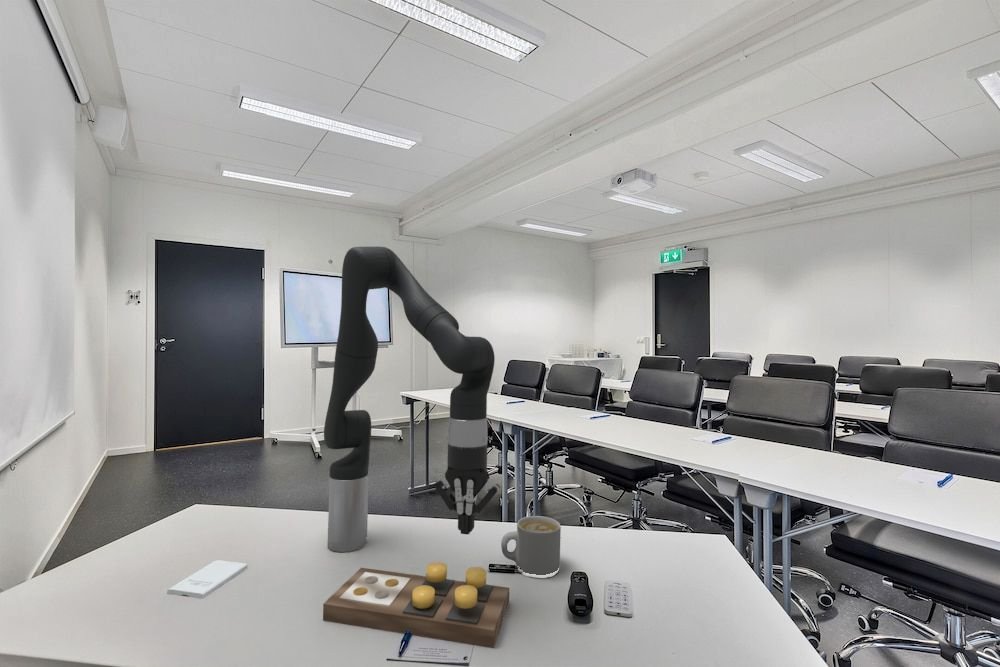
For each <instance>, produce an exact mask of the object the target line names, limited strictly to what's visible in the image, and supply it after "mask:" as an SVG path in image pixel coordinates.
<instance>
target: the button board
mask: <svg viewBox="0 0 1000 667" xmlns="http://www.w3.org/2000/svg"><path fill="white" fill-rule="evenodd" d="M465 582H466V581H462V580H454V579H449V578H446V579H445V580H444V581H442V582H430V581H428V580H427V579H426V576H424V575H418V574H411V573H404V572H396V571H389V570H382V569H374V568H373V569H372V568H366V567H360V568H359V569H358V570H356V572H355V573H353V575H352V576H351V577H350V578H348V580H346V581H345V582H344V583H343V584H342V585H341V586H340V587H339V588H338V589H337V590H336V591H335V592H334V593H333V594H332V595H331V596H330V597H329V598H328V599H326V600H325V602H324V603H323V604H322V605H323V606H322V607H323V608H322V610H323V611H322V621H325V622H332V623H338V624H344V625H350V626H357V627H363V628H368V629H369V628H370V629H375V630H381V631H387V632H394V633H399V634H404V633H405V632H406V631H407V630H409V631H410V633H411V634H412V635H411V634H410V635H411V636H416V637H418V636H419V637H423V638H430V639H436V640H441V641H447V642H455V643H459V644H467V645H473V646H477V647H478V646H480V647H486V648H490V649H494V648H495V645H496V642H497V639H498V636H499V634H500V632H501V631H500V630H501V627H502V624H503V622H504V619H505V616H506V613H507V610H508V607H509V605H508V603H509V604H510V587H507V586H501V585H500V586H498V585H493V584H488V583H486V585H485V586H483V587H480V588H476V589H477V604H476V605H475V606H474V607H472V608H467V609H464V608H459V607H457V606H456V605H455V589H456V588H457V587H459V586H462V585H466V583H465ZM423 585H427V586H431V587H433V588H434V589H435V602H434V604H433V605H432V606H431V607H428V608H416V607H415V606H413V604H412V596H413V590H414V589H415V588H416V587H418V586H423ZM507 606H508V607H507ZM506 609H507V610H506ZM505 612H506V613H505ZM504 615H505V616H504ZM503 618H504V619H503ZM502 621H503V622H502Z"/></svg>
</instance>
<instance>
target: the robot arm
mask: <svg viewBox="0 0 1000 667" xmlns="http://www.w3.org/2000/svg"><path fill="white" fill-rule="evenodd" d="M341 268H342V269H341V302H340V315H339V316H340V318H339V326H338V335H337V339H336V340H337V342H336V345H335V346H336V347H335V352H334V364H333V365H334V366H333V375H332V386H331V392H330V397H329V401H328V406H327V411H326V416H325V420H324V421H325V422H324V428H323V439H324V444H325V447H327V448H328V449H331V450H345V449H352V450H351V451H350V452H349V453H348V454H347V455H345V456H344V457H342V458H340V459H338V460H336V461H333V462H332V463H331V464H330V466H329V477H328V478H329V480H328V481H329V486H328V513H327V514H328V519H327V520H328V521H327V549H329V550H330V551H332V552H333V551H334V552H338V553H341V552H342V553H344V552H345V553H346V552H353V551H357V550H359V549H361V548H363V547H364V546H365V545H366V544H367V538H368V522H369V521H368V519H369V517H368V515H369V511H368V510H369V502H368V500H369V499H368V498H369V497H368V496H369V493H368V492H369V490H368V488H369V465H370V452H371V449H370V448H371V441H372V440H371V438H372V420H371V415H370V413H369V412H368V410H366V409H355V410H353V409H351V410H346V408H347V406H348V405H349V402H350V400H351V399H352V398H353V396H354V395H355V394H356V393H357V392H358V391H359V390H360V389H361V388H362V386H364V384H366V383H367V381H369V379H370V377H371V376H372V375H373V373H374V372H375V368H376V363H377V362H376V361H377V356H378V350H379V341H378V337H377V334H376V332H375V329H374V328H373V326H372V324H371V322H370V320H369V318H368V315H367V302H368V301H367V300H368V294H369V291H370V290H378V289H379V290H380V289H385V288H386V289H387V290H389V291H391V292H393V293H394V294H396V295H397V296H398V297H399V298H400V299H401V302H402V305H403V310H404V315H405V316H406V319H407V320H408V322H409V324H410V325H411V326H412V327H413V328H414V329H415V330H416V331H417V333H419V335H421V336H422V337H423V339H425V340H426V341H427V342H429V343H430V346H431V347H432V349H433V350H434V352H435V353H436V355H437V357H438V359H439V360H440V361H441V363H442V364H443V365H444V366H445V367H446V368H447V369H449V370H450V371H451V372H453V373H455V374H460V375H461V381H460V382H459V384H458V385H457V386H455V387H453V389H452V390H451V393H450V396H449V398H450V400H449V422H448V428H447V429H448V430H447V468H446V471H445V473H444V476H443V477H442V478H440V479H439V480H437V481H436V482H435V483H434V485H433V487H434V488H435V490H436V491H437V493H438V494H439V496H440V497H441V499H442V500H443V502H444V503H445V505H446V507H447V508H448V509H449V510H450V511H455V512H456V513H457V529H458V531H460V534H461V535H470V533H471V532H472V531H473V530H474V528H475V518H476V517H475V514H480V513H481V512H482V511H483V509H484V508H485V507H486V506H487V504H488V503H489V502H491V500H492V498H494V496H495V495H496V494H497V493H498V491H499V490H500V488H501V487H500V485H499V483H494V482H493V481H492V480H491V479H490V473H489V472H488V429H489V428H488V421H487V420H488V419H487V418H488V417H487V415H488V412H487V410H488V392H489V390H490V389H489V388H490V386H491V382H492V377H493V373H494V369H495V352H494V348H493V345H492V343H491V342H490V341H489V340H488V339H486V338H484V337H483V336H467V335H464V334H463V333H462V332H460V331H459V329H460V325H459V322H458V320H457V319H456V318H455V317H454V315H452V313H450V312H449V311H448V310H446V309H445V308H444V307H443V306H442V305H441V304H440V303H439V302H438V301H436V300H435V299H434V298H433V297H432V296H431V294H429V293H428V291H427V290H425V289H424V288H423V286H422V285H421V284H420V283H419V281H418V280H417V279H416V277H415V276H414V275H413V274H412V272H411V271H410V270H409V269H408V267H407V266H406V265H405V264H404V263H403V261H402V259H400V257H399V256H398V255H397V254H396V253H395V252H394V251H393V250H391V249H390V248H388V247H386V246H353V247H351V248H349V249H348V250H347V251H346V254H345V256H344V258H343V262H342V267H341ZM484 487H485V489H484V492H485V493H486V494H485V495H484V497H483V498H481V500H480V501H479V503H477V498H478V494H479V493H480V492H481V490H482V489H483V488H484ZM451 489H452V491H453V492H454V494H455V495H454V494H453V492H452V491H451ZM366 537H367V538H366Z"/></svg>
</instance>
